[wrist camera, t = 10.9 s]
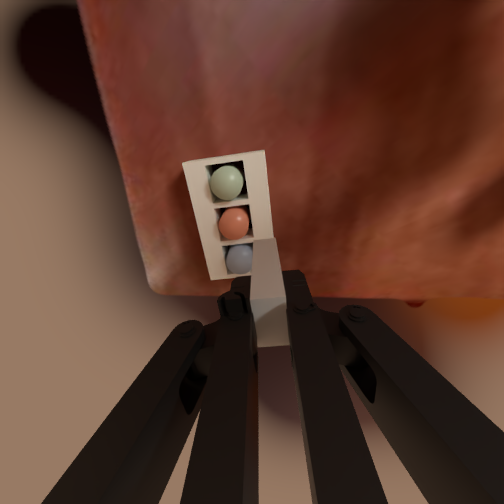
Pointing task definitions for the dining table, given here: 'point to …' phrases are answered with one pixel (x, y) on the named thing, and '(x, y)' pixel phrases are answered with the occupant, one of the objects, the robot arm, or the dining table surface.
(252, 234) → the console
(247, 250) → the button slate
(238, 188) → the button sage
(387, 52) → the dining table surface
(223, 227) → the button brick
